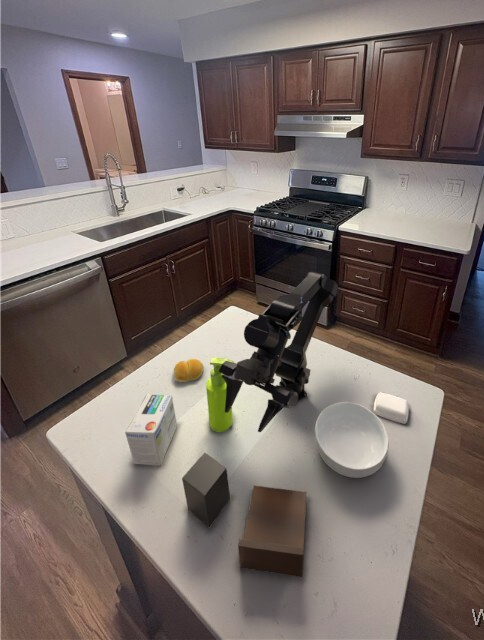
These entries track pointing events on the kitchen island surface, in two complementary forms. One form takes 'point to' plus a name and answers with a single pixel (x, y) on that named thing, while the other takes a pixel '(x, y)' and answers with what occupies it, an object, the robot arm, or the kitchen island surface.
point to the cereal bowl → (351, 439)
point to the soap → (391, 407)
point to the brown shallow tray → (274, 532)
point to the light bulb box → (152, 430)
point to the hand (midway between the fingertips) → (242, 421)
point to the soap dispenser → (217, 398)
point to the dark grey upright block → (206, 489)
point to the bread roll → (188, 370)
